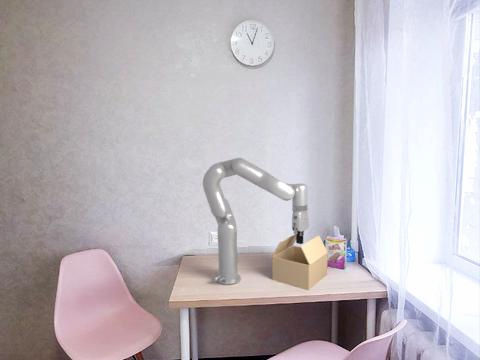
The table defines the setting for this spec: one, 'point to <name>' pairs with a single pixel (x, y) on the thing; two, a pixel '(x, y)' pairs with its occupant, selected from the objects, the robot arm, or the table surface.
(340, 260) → the candy bar box
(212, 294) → the table surface
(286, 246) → the far flap
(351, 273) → the table surface
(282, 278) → the carton
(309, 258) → the near flap
